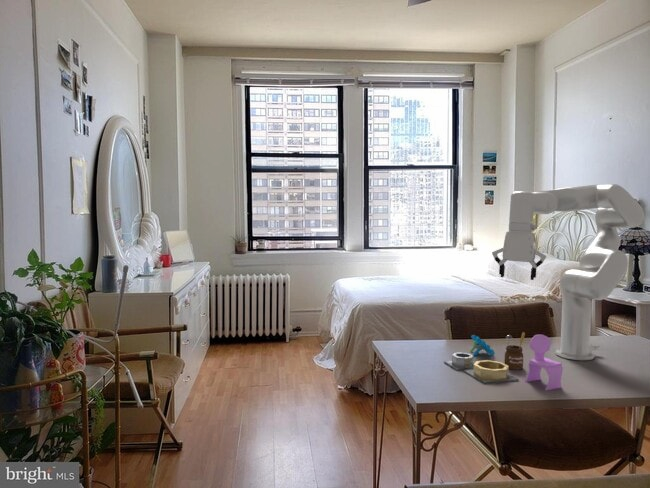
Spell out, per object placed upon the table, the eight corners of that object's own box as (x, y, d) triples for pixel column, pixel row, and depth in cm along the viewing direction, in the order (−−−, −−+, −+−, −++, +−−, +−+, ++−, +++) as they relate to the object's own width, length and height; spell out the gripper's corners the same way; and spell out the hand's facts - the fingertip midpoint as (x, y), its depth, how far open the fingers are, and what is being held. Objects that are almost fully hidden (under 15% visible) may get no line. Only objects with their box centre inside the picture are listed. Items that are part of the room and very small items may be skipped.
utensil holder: (501, 364, 177) (502, 330, 177) (518, 364, 178) (519, 330, 177) (509, 370, 172) (510, 334, 171) (527, 369, 172) (528, 334, 171)
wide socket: (495, 368, 173) (496, 358, 173) (518, 380, 161) (519, 369, 161) (464, 371, 170) (464, 361, 169) (485, 384, 158) (485, 372, 158)
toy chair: (544, 391, 152) (546, 341, 151) (522, 382, 160) (524, 334, 159) (565, 387, 156) (567, 338, 155) (542, 378, 164) (544, 332, 163)
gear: (500, 354, 184) (481, 334, 184) (489, 366, 184) (470, 347, 183) (487, 350, 195) (468, 331, 195) (476, 361, 194) (458, 343, 194)
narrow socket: (467, 360, 182) (467, 350, 182) (481, 368, 173) (481, 358, 173) (444, 362, 179) (444, 352, 179) (457, 370, 171) (457, 360, 170)
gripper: (549, 229, 175) (545, 279, 176) (495, 226, 183) (492, 274, 184) (547, 229, 168) (543, 281, 169) (492, 226, 176) (488, 276, 177)
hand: (517, 278), depth 177 cm, fingers open, 9 cm apart
